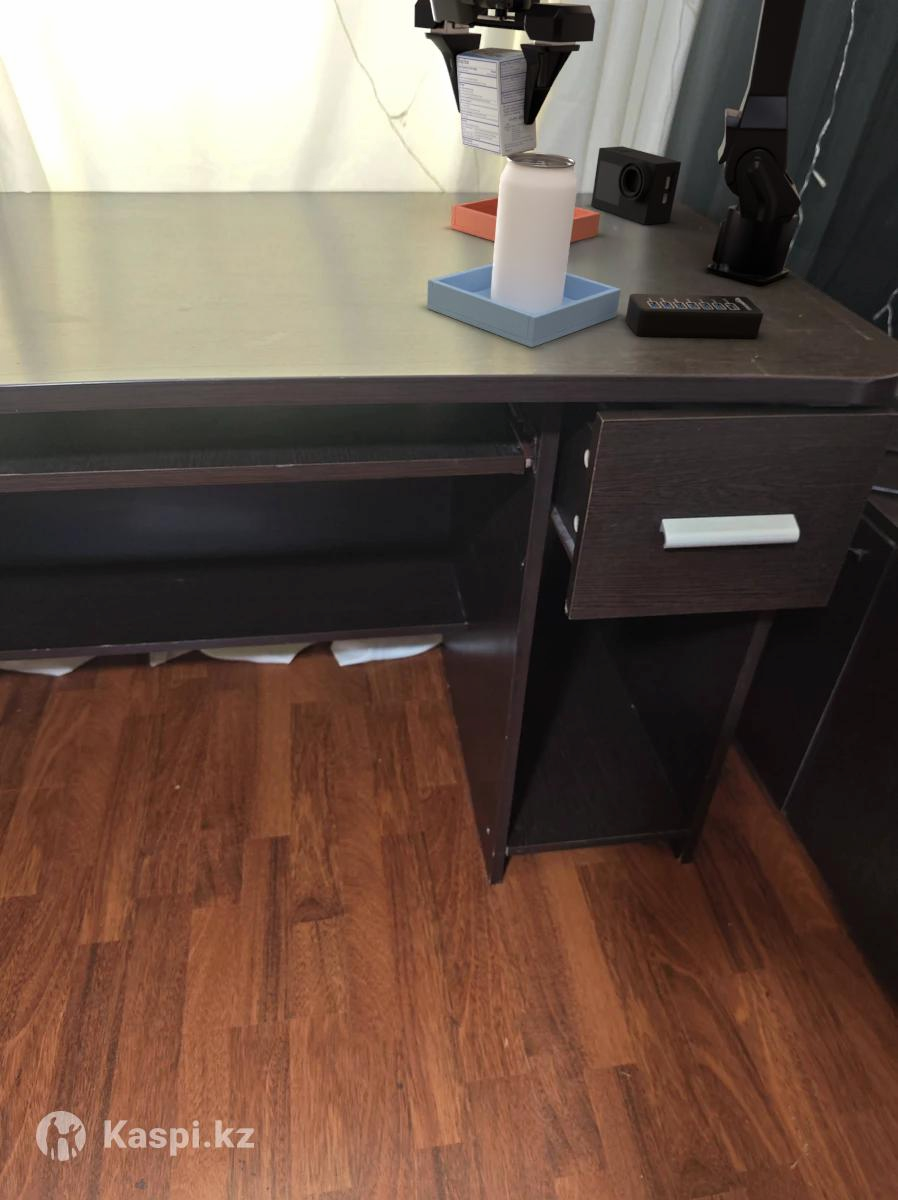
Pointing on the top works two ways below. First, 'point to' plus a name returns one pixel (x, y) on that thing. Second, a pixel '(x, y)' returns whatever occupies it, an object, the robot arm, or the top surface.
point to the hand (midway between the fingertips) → (494, 118)
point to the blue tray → (472, 305)
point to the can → (533, 231)
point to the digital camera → (635, 184)
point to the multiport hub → (693, 316)
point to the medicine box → (494, 101)
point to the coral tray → (483, 218)
